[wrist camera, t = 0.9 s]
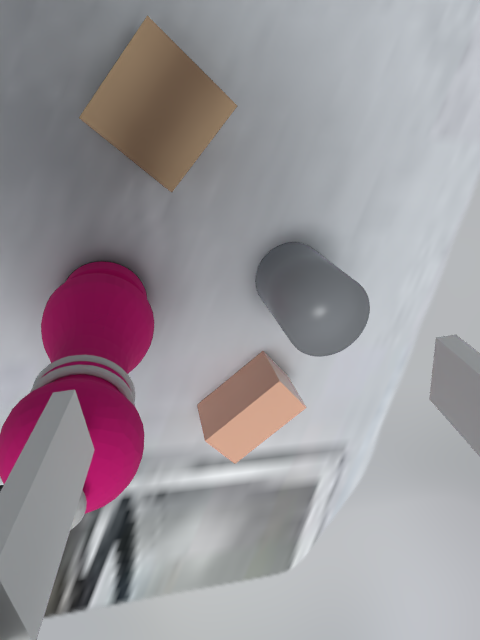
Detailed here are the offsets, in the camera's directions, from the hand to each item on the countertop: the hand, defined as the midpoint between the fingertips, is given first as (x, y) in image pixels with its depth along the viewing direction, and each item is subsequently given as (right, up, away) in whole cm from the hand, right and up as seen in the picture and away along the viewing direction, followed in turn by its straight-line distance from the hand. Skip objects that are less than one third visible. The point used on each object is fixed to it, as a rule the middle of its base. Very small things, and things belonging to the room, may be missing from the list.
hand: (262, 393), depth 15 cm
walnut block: (-6, +17, +12) cm, 22 cm away
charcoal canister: (+3, +6, +20) cm, 21 cm away
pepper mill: (-11, +4, +17) cm, 21 cm away
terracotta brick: (-1, -4, +24) cm, 24 cm away
